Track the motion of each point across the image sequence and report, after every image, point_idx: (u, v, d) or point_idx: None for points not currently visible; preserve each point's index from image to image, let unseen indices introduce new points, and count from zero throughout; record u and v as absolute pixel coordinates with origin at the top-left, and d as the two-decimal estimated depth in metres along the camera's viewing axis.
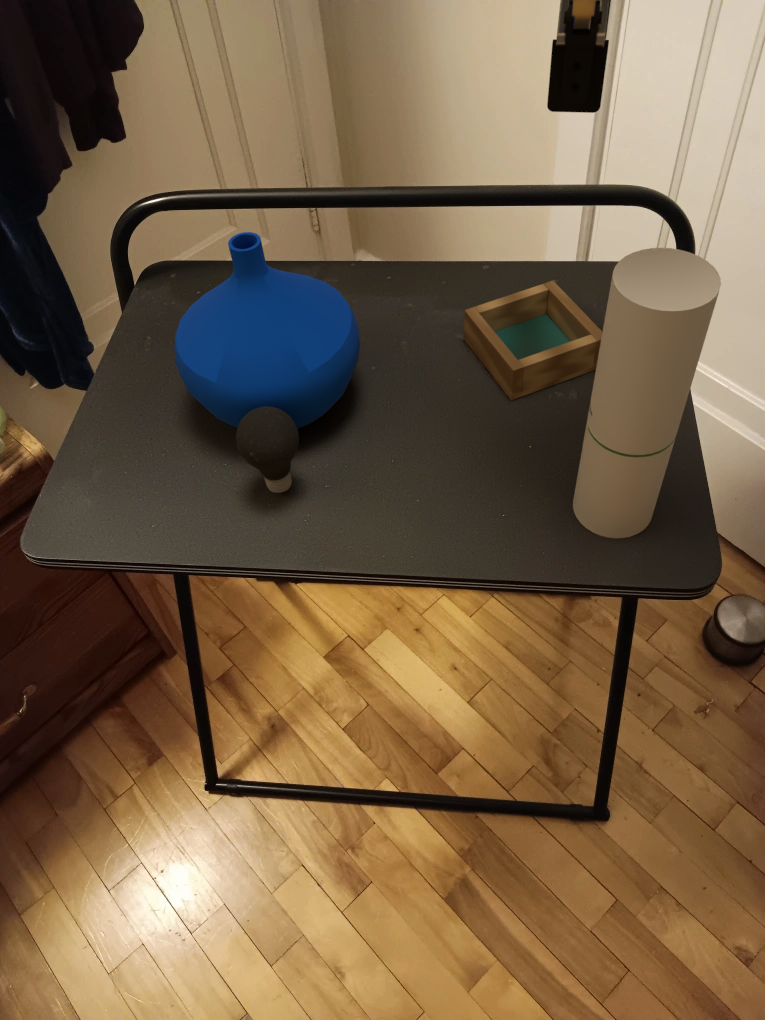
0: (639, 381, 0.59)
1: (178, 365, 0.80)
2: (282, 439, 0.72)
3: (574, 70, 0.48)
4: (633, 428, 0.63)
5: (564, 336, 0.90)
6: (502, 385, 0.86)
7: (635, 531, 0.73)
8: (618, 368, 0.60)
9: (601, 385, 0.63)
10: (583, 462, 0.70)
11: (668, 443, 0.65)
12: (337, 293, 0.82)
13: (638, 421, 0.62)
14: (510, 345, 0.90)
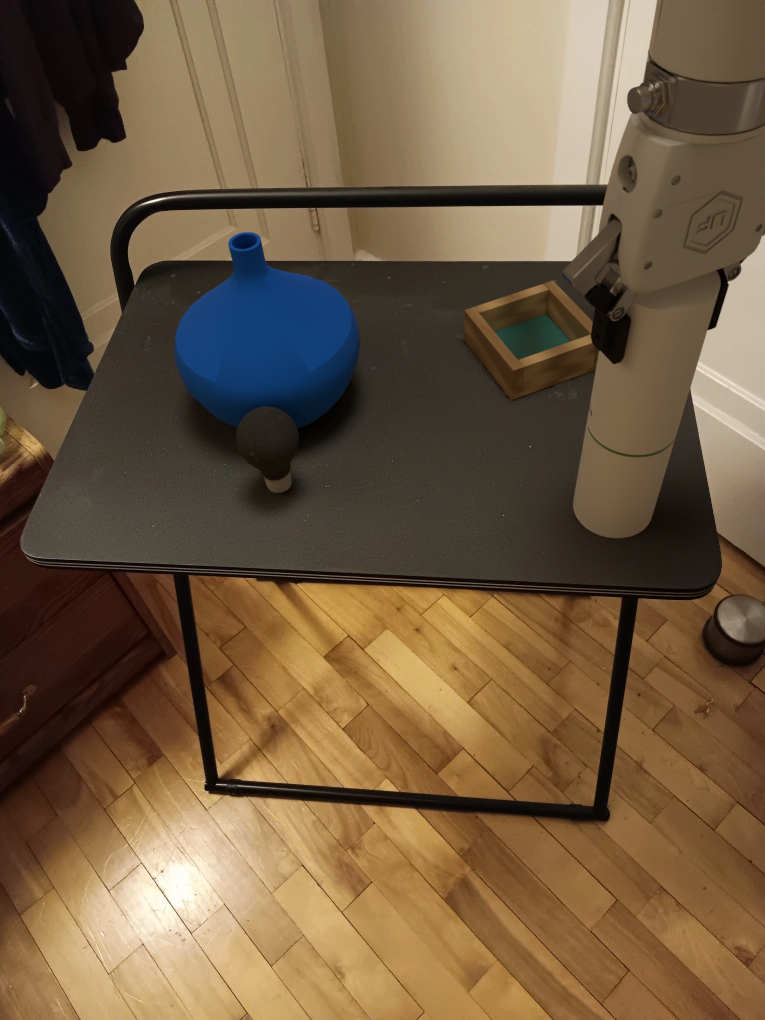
0: (639, 381, 0.59)
1: (178, 365, 0.80)
2: (282, 439, 0.72)
3: (598, 323, 0.57)
4: (633, 428, 0.63)
5: (564, 336, 0.90)
6: (502, 385, 0.86)
7: (635, 531, 0.73)
8: (618, 368, 0.60)
9: (601, 385, 0.63)
10: (583, 462, 0.70)
11: (668, 443, 0.65)
12: (337, 293, 0.82)
13: (637, 421, 0.62)
14: (510, 345, 0.90)
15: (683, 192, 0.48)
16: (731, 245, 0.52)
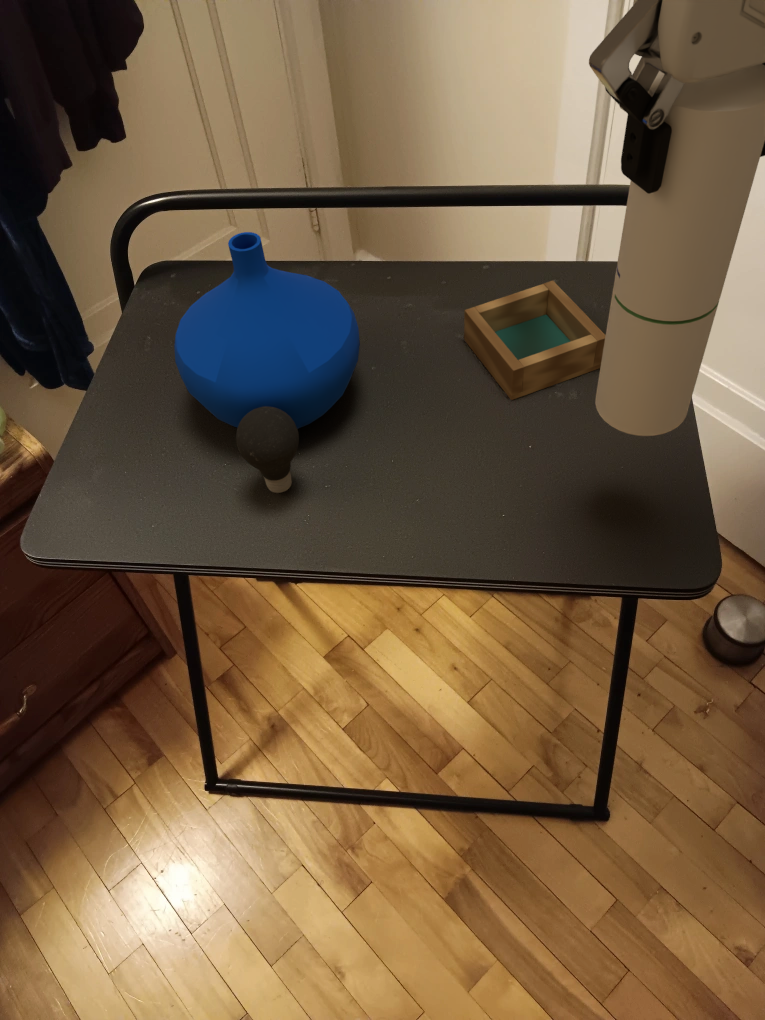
0: (679, 217, 0.49)
1: (178, 365, 0.80)
2: (282, 439, 0.72)
3: (631, 140, 0.47)
4: (670, 284, 0.53)
5: (564, 336, 0.90)
6: (502, 385, 0.86)
7: (669, 427, 0.63)
8: (653, 202, 0.50)
9: (632, 232, 0.53)
10: (608, 342, 0.60)
11: (710, 307, 0.55)
12: (337, 293, 0.82)
13: (676, 274, 0.52)
14: (510, 345, 0.90)
15: None
16: None
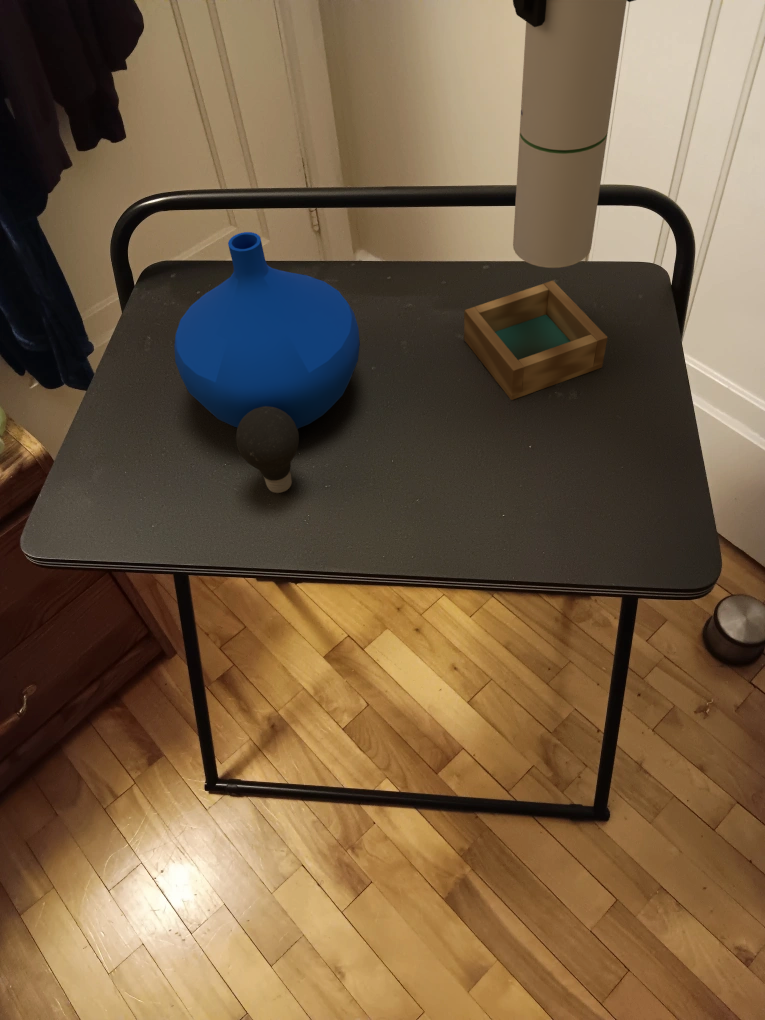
0: (561, 48, 0.60)
1: (178, 365, 0.80)
2: (282, 439, 0.72)
3: None
4: (559, 113, 0.64)
5: (564, 336, 0.90)
6: (502, 385, 0.86)
7: (572, 259, 0.74)
8: (541, 37, 0.60)
9: (528, 69, 0.63)
10: (518, 180, 0.71)
11: (597, 139, 0.66)
12: (337, 293, 0.82)
13: (564, 103, 0.63)
14: (510, 345, 0.90)
15: None
16: None
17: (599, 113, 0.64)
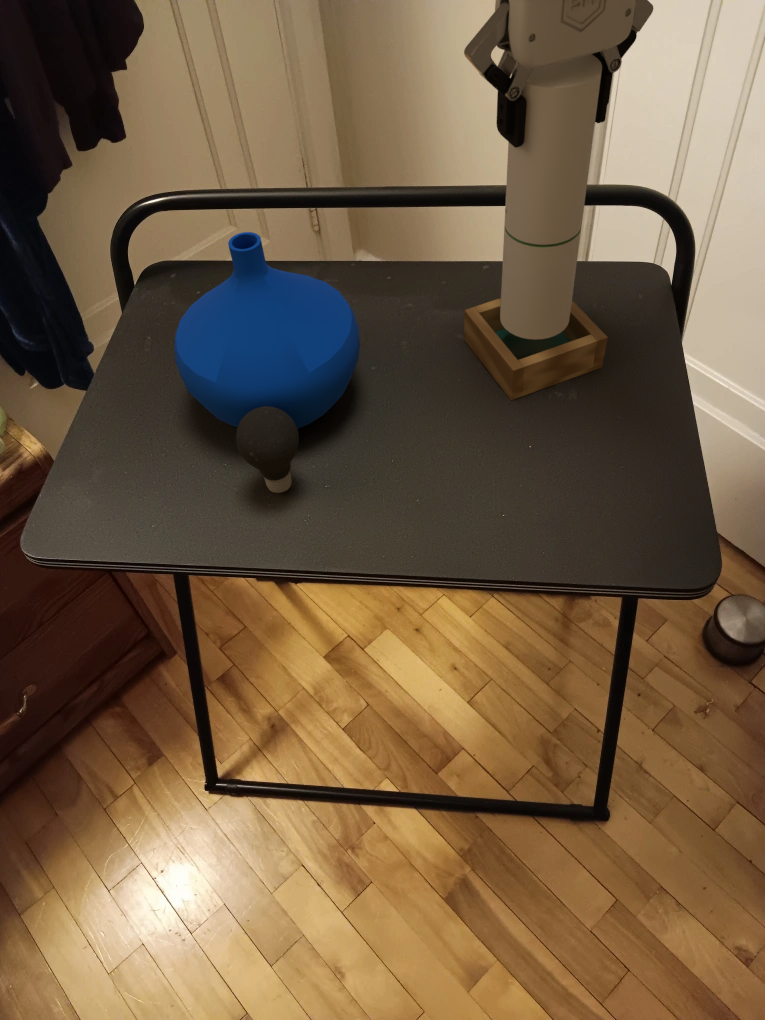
0: (539, 164, 0.70)
1: (178, 365, 0.80)
2: (282, 439, 0.72)
3: (501, 109, 0.67)
4: (538, 215, 0.73)
5: (564, 336, 0.90)
6: (502, 385, 0.86)
7: (552, 332, 0.84)
8: (521, 154, 0.70)
9: (510, 177, 0.73)
10: (503, 265, 0.81)
11: (571, 235, 0.75)
12: (337, 293, 0.82)
13: (541, 207, 0.73)
14: (510, 345, 0.90)
15: None
16: (604, 26, 0.63)
17: (573, 214, 0.74)
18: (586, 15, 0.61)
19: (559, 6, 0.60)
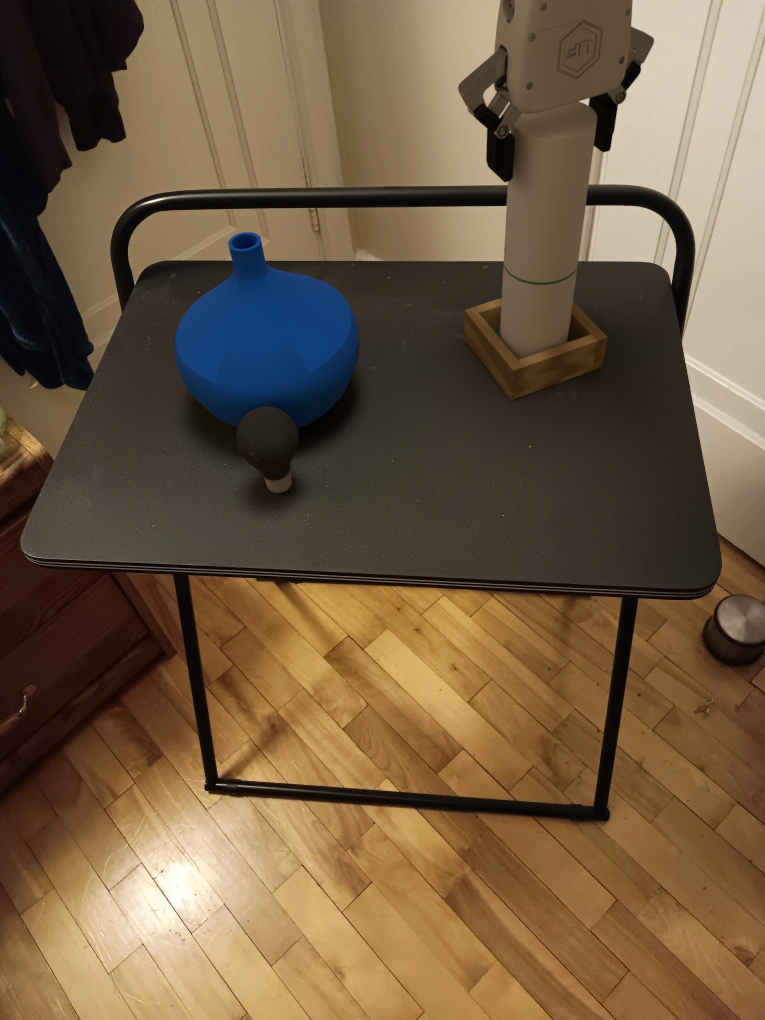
0: (536, 208, 0.73)
1: (178, 365, 0.80)
2: (282, 439, 0.72)
3: (490, 145, 0.69)
4: (536, 255, 0.76)
5: None
6: (502, 385, 0.86)
7: None
8: (519, 198, 0.73)
9: (509, 219, 0.76)
10: (502, 299, 0.84)
11: (568, 273, 0.79)
12: (337, 293, 0.82)
13: (539, 248, 0.76)
14: None
15: (550, 18, 0.60)
16: (599, 73, 0.65)
17: (569, 254, 0.77)
18: (581, 64, 0.64)
19: (555, 56, 0.63)
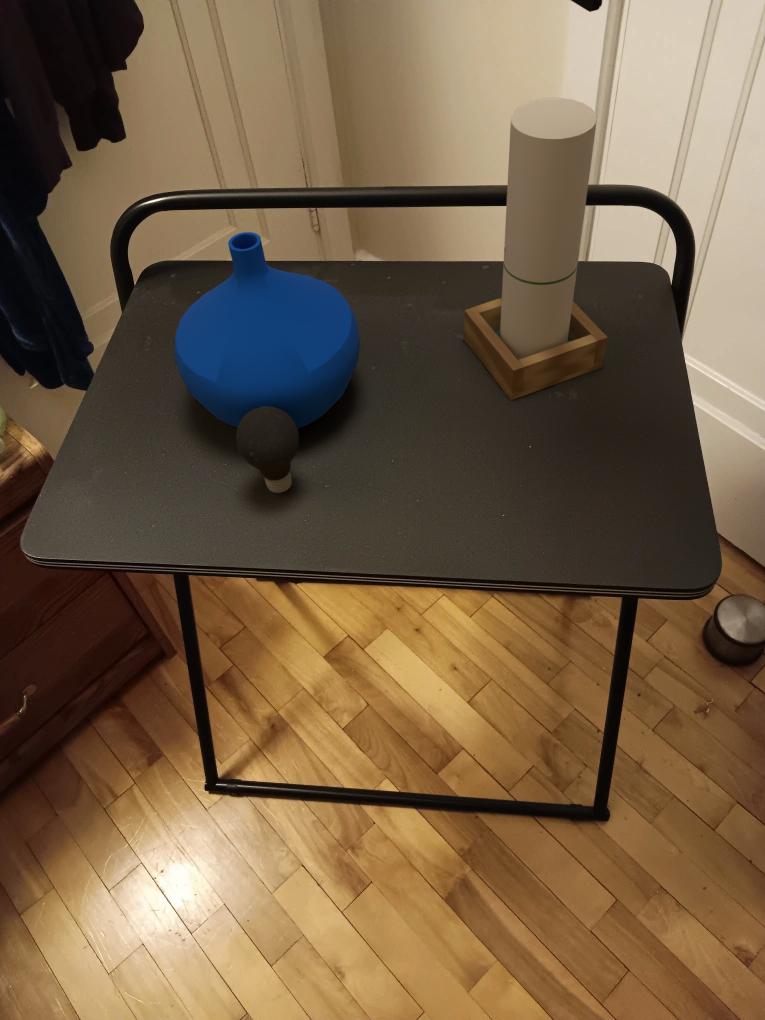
0: (536, 208, 0.73)
1: (178, 365, 0.80)
2: (282, 439, 0.72)
3: None
4: (536, 255, 0.76)
5: None
6: (502, 385, 0.86)
7: None
8: (519, 198, 0.73)
9: (509, 219, 0.76)
10: (502, 299, 0.84)
11: (568, 273, 0.79)
12: (337, 293, 0.82)
13: (539, 248, 0.76)
14: None
15: None
16: None
17: (569, 254, 0.77)
18: None
19: None
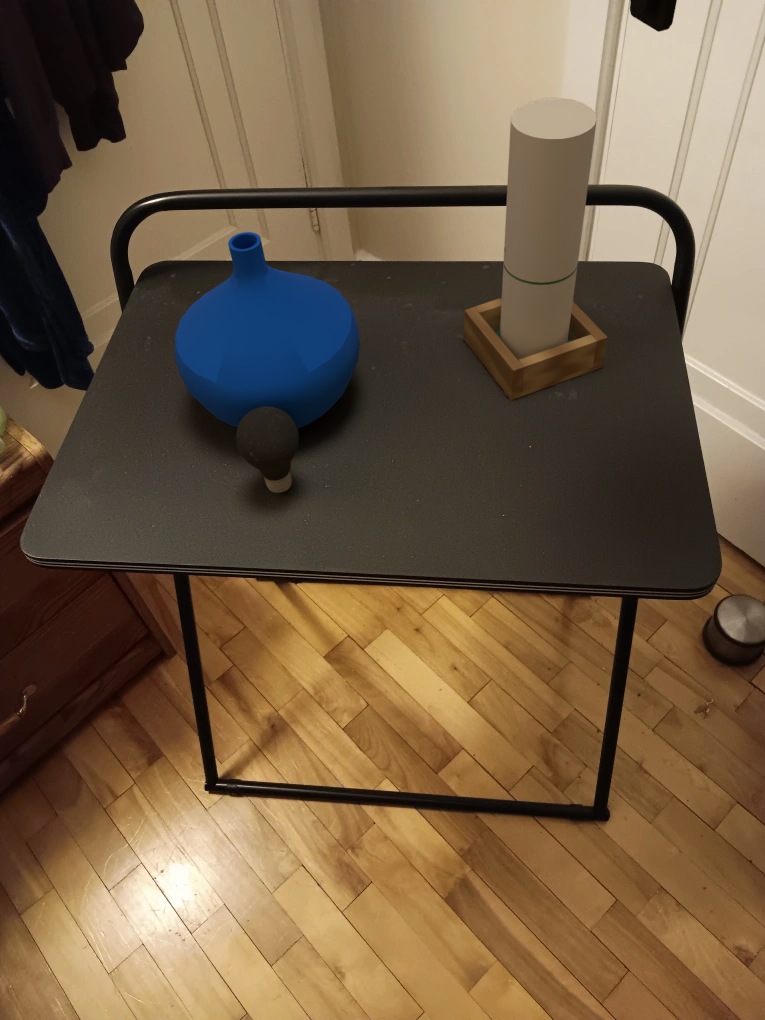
0: (536, 208, 0.73)
1: (178, 365, 0.80)
2: (282, 439, 0.72)
3: None
4: (536, 255, 0.76)
5: None
6: (502, 385, 0.86)
7: None
8: (519, 198, 0.73)
9: (509, 219, 0.76)
10: (502, 299, 0.84)
11: (568, 273, 0.79)
12: (337, 293, 0.82)
13: (539, 248, 0.76)
14: None
15: None
16: None
17: (569, 254, 0.77)
18: None
19: None
